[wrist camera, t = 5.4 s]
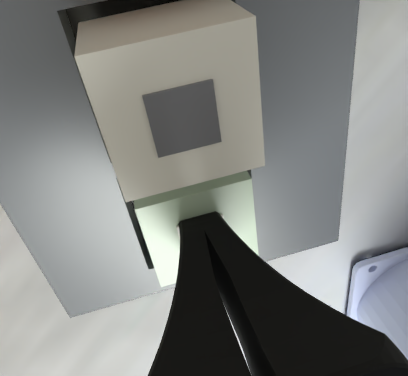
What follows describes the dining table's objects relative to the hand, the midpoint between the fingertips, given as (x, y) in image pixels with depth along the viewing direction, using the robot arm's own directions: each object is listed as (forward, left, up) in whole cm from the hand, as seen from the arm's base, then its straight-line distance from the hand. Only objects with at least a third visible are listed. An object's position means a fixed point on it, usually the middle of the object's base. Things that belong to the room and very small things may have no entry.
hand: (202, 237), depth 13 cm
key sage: (0, 0, -3) cm, 3 cm away
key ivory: (0, -5, -2) cm, 5 cm away
